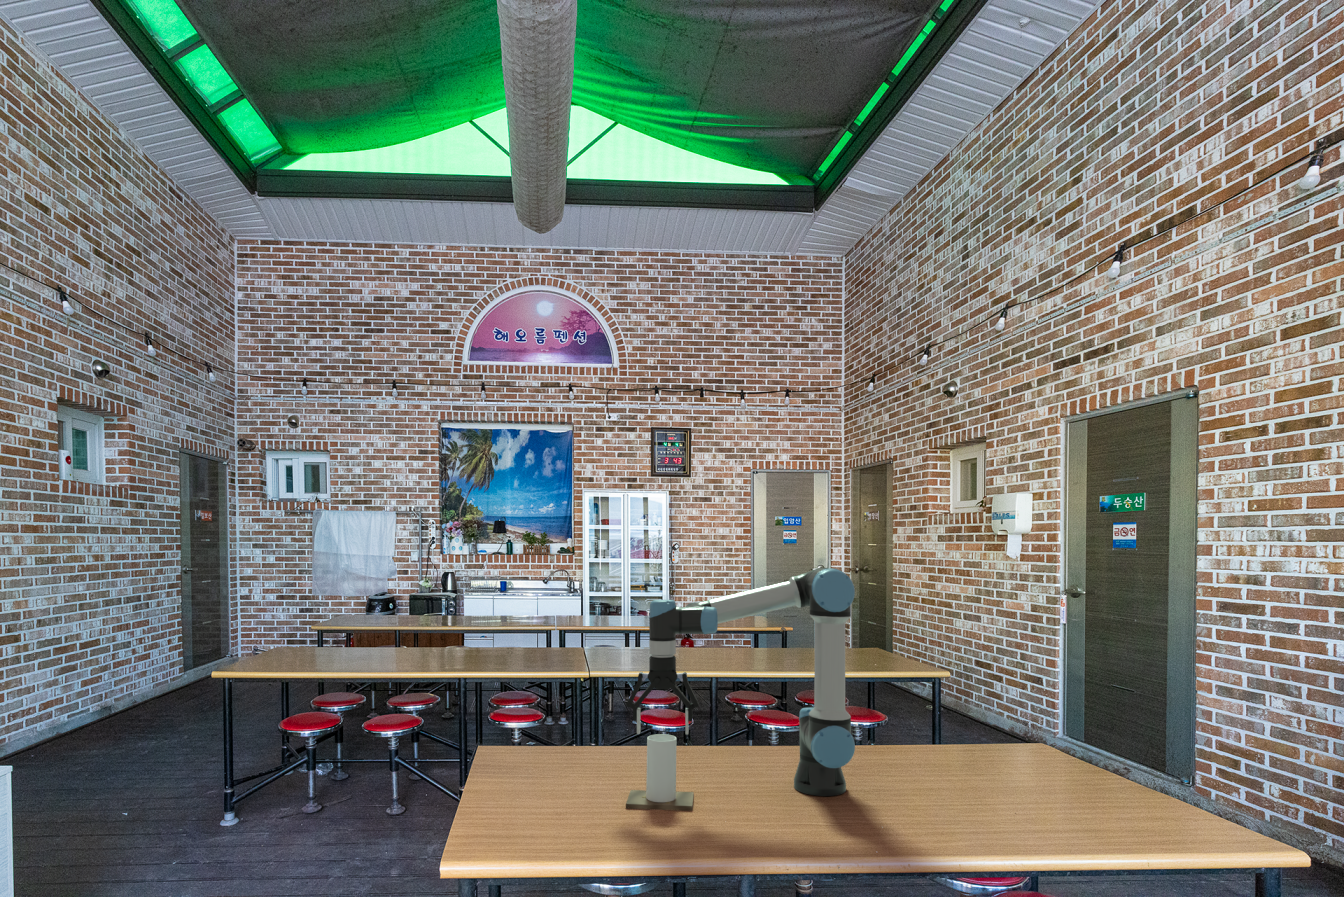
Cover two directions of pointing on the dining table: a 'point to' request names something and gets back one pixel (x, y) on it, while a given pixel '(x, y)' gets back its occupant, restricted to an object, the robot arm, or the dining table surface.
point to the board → (641, 802)
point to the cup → (661, 768)
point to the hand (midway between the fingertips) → (662, 733)
